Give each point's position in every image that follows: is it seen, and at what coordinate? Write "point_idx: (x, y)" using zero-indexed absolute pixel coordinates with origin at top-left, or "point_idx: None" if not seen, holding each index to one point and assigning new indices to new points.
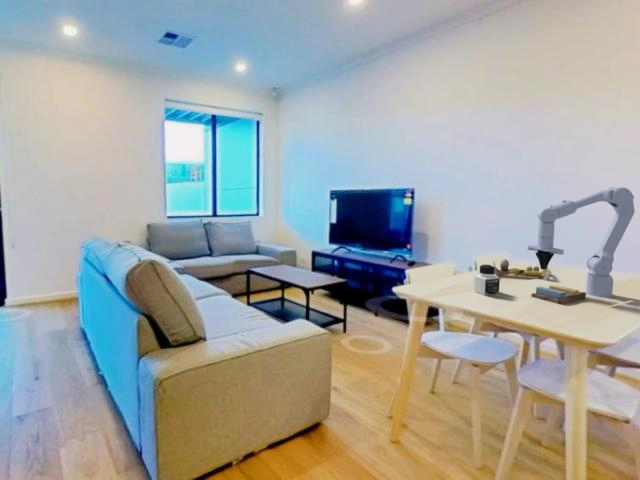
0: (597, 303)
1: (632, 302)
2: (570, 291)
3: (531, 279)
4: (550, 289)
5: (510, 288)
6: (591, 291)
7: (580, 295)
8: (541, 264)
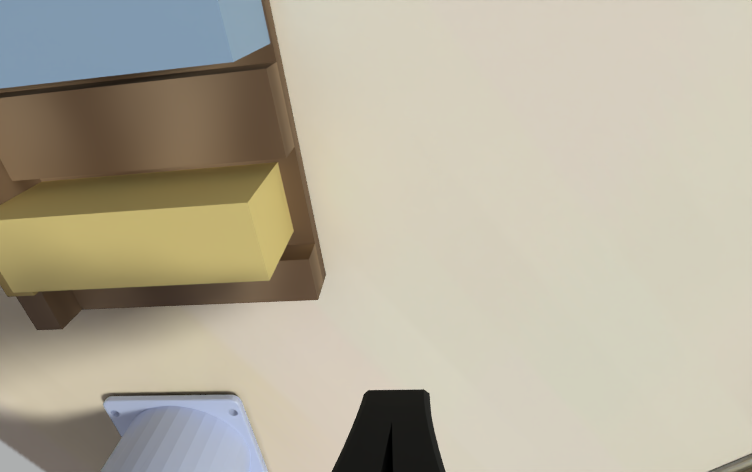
0: (3, 291)
1: (31, 456)
2: (13, 215)
3: (744, 467)
4: (59, 39)
5: (724, 5)
6: (158, 430)
7: None
8: (395, 468)
